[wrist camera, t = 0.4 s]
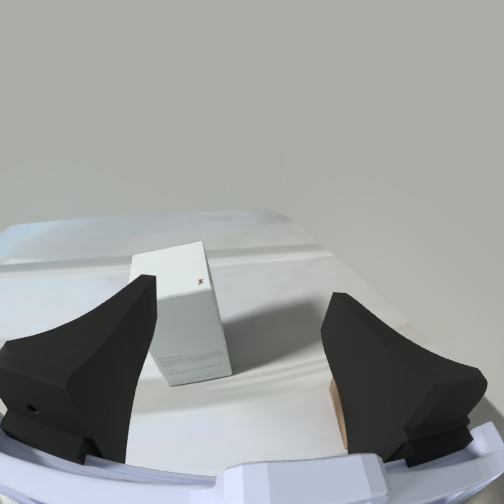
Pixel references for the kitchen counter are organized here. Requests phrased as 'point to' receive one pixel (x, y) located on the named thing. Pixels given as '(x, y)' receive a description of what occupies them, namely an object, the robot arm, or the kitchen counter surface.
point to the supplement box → (185, 315)
